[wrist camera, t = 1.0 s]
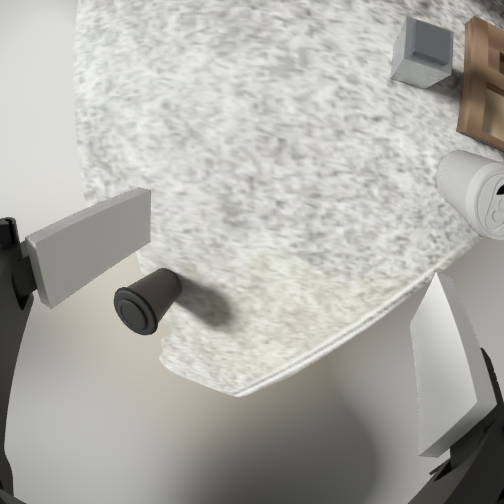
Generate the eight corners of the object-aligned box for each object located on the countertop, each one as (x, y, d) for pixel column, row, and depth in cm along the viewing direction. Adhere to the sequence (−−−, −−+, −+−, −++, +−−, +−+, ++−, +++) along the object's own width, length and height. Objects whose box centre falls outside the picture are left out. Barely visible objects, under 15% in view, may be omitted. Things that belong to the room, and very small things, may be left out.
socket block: (465, 24, 18) (474, 15, 15) (525, 55, 15) (537, 51, 12) (456, 131, 24) (466, 132, 21) (515, 158, 22) (529, 162, 19)
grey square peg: (393, 47, 23) (408, 11, 13) (427, 57, 22) (457, 28, 12) (390, 78, 25) (406, 55, 15) (424, 89, 24) (455, 72, 14)
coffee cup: (152, 297, 50) (116, 329, 41) (145, 256, 46) (103, 285, 37) (191, 309, 47) (157, 346, 39) (186, 265, 44) (147, 299, 35)
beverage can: (490, 172, 24) (542, 198, 14) (464, 216, 27) (504, 259, 17) (451, 138, 25) (497, 147, 14) (424, 184, 28) (457, 215, 18)
